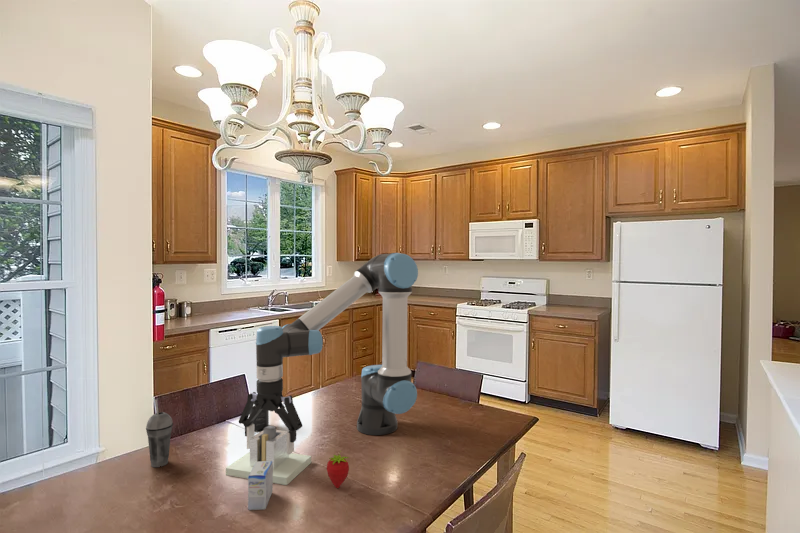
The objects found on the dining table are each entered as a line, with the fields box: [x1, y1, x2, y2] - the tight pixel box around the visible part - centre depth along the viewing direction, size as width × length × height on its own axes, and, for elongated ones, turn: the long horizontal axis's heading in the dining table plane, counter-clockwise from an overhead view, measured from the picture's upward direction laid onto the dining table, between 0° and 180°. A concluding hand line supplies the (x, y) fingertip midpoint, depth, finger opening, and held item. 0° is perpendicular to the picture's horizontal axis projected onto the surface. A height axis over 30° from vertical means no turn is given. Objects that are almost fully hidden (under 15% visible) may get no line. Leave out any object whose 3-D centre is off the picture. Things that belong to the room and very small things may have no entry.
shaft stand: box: [225, 425, 312, 486], centre depth 126 cm, size 20×14×12 cm
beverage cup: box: [145, 398, 174, 468], centre depth 129 cm, size 7×7×20 cm
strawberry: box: [326, 450, 350, 489], centre depth 115 cm, size 6×8×10 cm
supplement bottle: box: [248, 399, 270, 432], centre depth 157 cm, size 7×7×12 cm
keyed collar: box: [249, 429, 289, 470], centre depth 126 cm, size 8×8×8 cm
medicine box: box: [247, 461, 274, 511], centre depth 108 cm, size 8×4×9 cm, turn 5°
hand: (270, 449), depth 126 cm, fingers open, 13 cm apart
